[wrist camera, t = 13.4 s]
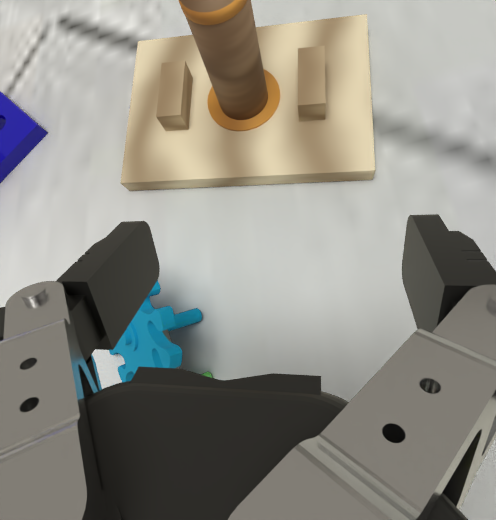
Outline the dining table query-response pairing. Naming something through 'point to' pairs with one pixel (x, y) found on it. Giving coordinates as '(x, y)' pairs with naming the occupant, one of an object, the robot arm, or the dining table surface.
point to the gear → (152, 338)
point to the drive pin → (229, 53)
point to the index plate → (262, 125)
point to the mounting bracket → (16, 135)
